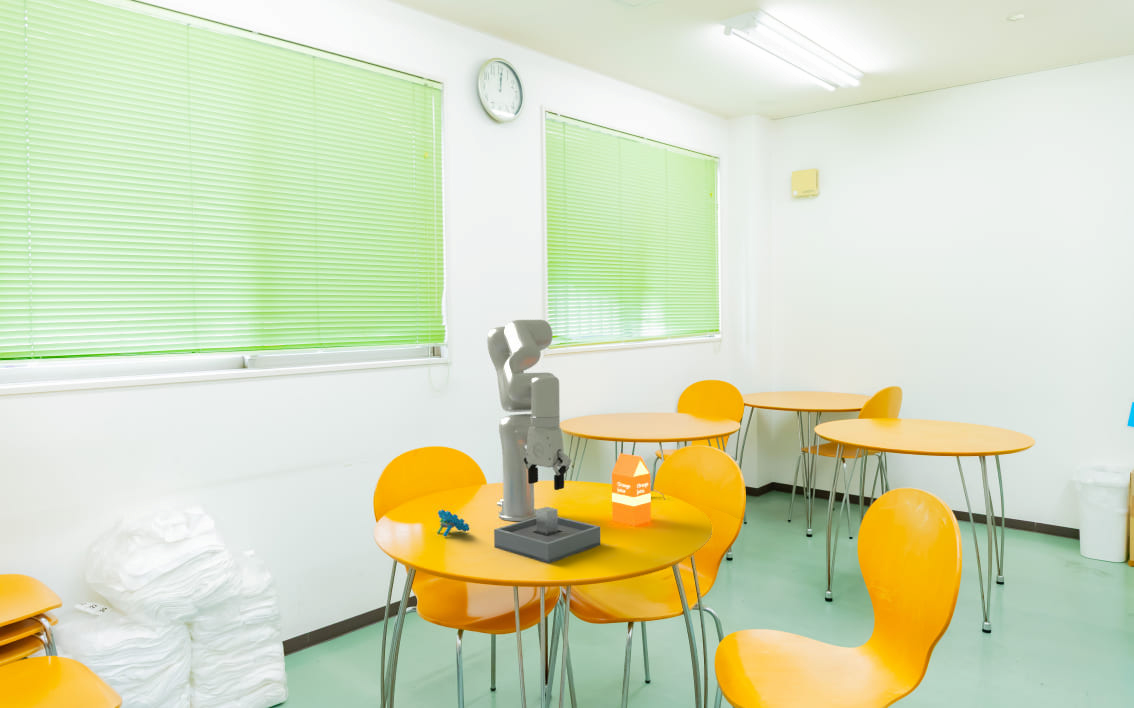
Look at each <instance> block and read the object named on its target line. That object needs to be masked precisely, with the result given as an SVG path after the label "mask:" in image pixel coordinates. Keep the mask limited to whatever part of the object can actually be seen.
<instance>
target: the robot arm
mask: <svg viewBox="0 0 1134 708" xmlns="http://www.w3.org/2000/svg"><path fill="white" fill-rule="evenodd" d="M486 340H487V341H486V342H487V350H488V354H489V356H490V359H491V362H492V364H493V367H494V368H495V372H496V376H497V384H498V385H497V386H498V392H499V400H500V405H501V408H502V410H504V411H505V412H507V413H518V414H510V415H506V416H505V417H503V418H501V420H500V421H499V425H498V431H499V433H498V434H499V437H500V444H501V451H502V452H501V453H502V483H503V485H502V486H503V487H502V488H503V489H502V490H503V491H502V492H503V498H501V499H500V500H499V501H497V502H496V505H497V507H501V510H500V511H499V512H498V517H499V519H501V520H504V521H510V522H521V521H525V520H528V519H532V518H535V517H536V510H537V509H536V508H535V483H538V482H539V468H538V467H537V466H539V467H544V468H552V469H553V472H554V473H555V474H554V475H553V489H554V491H558V490H559V491H560V490H562V489H565V474H567V471H568V470H569V468H570V465H571V463H572V459H571V458H570V457H569V456H568V455H567V454H566V453H565V452H564V441H563V433H562V428H561V425H560V424H561V423H560V419H561V418H560V380H559V378H558V377H557V376H555V374H553V373H551V372H525V371H526V370H529V369H531V368H532V367H534V366H536V365H537V364H538V362H539V361H540V359H541V351H543V350H545V349H547V348H549V347H550V345H551V343H552V341H553V330H552V326H551V325H550V323H549V322H548V321H546V320H544V319H515V320H512V321H509V322H508V323H507V324H506V325H505V326H499V327H495V328H492V329H491V330H490V331H488V334H487V339H486ZM525 412H527V413H525ZM529 412H530V413H529ZM519 413H520V414H519ZM521 413H522V414H521Z"/></svg>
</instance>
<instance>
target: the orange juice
mask: <svg viewBox="0 0 1134 708" xmlns="http://www.w3.org/2000/svg"><path fill="white" fill-rule="evenodd" d="M643 459H644V458H643V457H642V456H640V455H632V454H627V453H619V455H618V458H617V460H616V462H615V466H614V467H613V470H612V472H611V488H612V489H611V503H612V504H611V505H612V506H611V507H612V508H611V509H612V512H611V513H612V516H611V517H612V521H613V522H615V521H616V522H615V523H618V522H620V523H619V524H622V523H625V524H624V525H626V524H628V525H627V526H630V525H632V526H631V527H637V526H636V525H638V526H640V525H639V524H641V525H643V524H642V523H644V524H646V523H645V522H647V523H650V522H649V521H651V522H652V512H651V511H652V509H651V505H652V504H651V503H652V502H651V501H652V499H651V498H652V497H651V496H652V495H651V489H650V488H651V473H650V471H649V469H648V467H647V464H646V463H645V461H644V460H643Z"/></svg>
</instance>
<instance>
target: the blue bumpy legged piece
mask: <svg viewBox="0 0 1134 708" xmlns="http://www.w3.org/2000/svg"><path fill="white" fill-rule="evenodd" d="M437 514H438V518H439V519H440V520H439V523H440V524H439V525H440V527H439V528H438V530H437V532H436V533H437V534H439V535H440V533H441V532H442V531H443V529H444V528H445V531H444V533H443V534H442V536H444V537H446V538H447V536H448V535H449V533H450V532H451V530H452V529H453V528H456V530H458V531H463V532H464V533H466V532H468V531H470V529H471V528H470V525H469V524H468V523H466V522H465V520H464V519H463V518H459V515H458V514H455V513H454V514H452V513H451V512H450V511H449V510H446V511H445V510H444V509H441V510H438V512H437Z"/></svg>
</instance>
